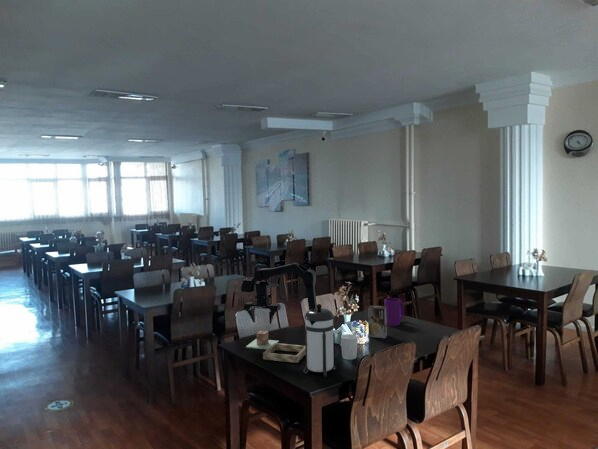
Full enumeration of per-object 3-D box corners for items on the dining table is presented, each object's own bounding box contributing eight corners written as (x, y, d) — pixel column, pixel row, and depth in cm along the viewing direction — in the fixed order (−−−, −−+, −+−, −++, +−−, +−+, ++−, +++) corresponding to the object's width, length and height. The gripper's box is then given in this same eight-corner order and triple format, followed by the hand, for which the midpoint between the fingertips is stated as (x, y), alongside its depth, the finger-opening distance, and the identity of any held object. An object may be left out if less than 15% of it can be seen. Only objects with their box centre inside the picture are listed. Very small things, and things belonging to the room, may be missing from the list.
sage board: (278, 341, 249) (278, 340, 249) (269, 349, 237) (269, 348, 237) (256, 339, 253) (256, 338, 253) (246, 347, 241) (246, 346, 241)
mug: (381, 324, 278) (381, 299, 277) (396, 319, 289) (396, 295, 288) (394, 327, 271) (394, 302, 270) (409, 322, 282) (409, 297, 281)
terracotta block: (268, 342, 247) (268, 331, 246) (265, 345, 242) (264, 334, 241) (260, 341, 248) (260, 330, 247) (256, 344, 243) (256, 333, 243)
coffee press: (343, 375, 203) (342, 306, 201) (307, 379, 199) (306, 309, 197) (332, 361, 220) (331, 297, 217) (298, 364, 216) (297, 300, 214)
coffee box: (387, 335, 258) (387, 306, 256) (385, 338, 252) (384, 309, 250) (370, 333, 261) (370, 305, 260) (368, 337, 255) (367, 307, 254)
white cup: (353, 361, 219) (353, 340, 219) (338, 358, 223) (338, 337, 223) (360, 356, 226) (360, 335, 225) (345, 353, 230) (345, 333, 229)
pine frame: (307, 351, 233) (307, 346, 233) (297, 362, 218) (297, 356, 218) (274, 348, 238) (274, 343, 238) (262, 359, 224) (262, 353, 224)
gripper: (284, 291, 248) (284, 320, 249) (251, 289, 254) (252, 317, 255) (276, 295, 237) (277, 326, 238) (242, 293, 243) (243, 323, 244)
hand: (262, 323), depth 244 cm, fingers open, 9 cm apart
